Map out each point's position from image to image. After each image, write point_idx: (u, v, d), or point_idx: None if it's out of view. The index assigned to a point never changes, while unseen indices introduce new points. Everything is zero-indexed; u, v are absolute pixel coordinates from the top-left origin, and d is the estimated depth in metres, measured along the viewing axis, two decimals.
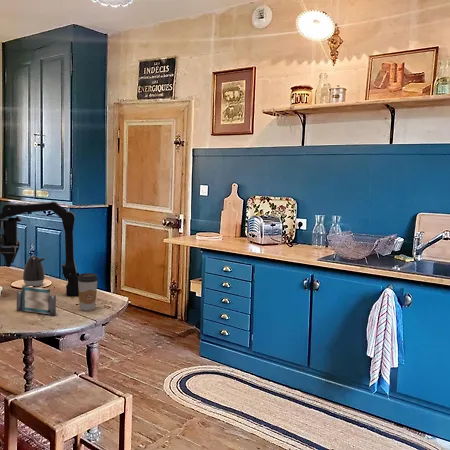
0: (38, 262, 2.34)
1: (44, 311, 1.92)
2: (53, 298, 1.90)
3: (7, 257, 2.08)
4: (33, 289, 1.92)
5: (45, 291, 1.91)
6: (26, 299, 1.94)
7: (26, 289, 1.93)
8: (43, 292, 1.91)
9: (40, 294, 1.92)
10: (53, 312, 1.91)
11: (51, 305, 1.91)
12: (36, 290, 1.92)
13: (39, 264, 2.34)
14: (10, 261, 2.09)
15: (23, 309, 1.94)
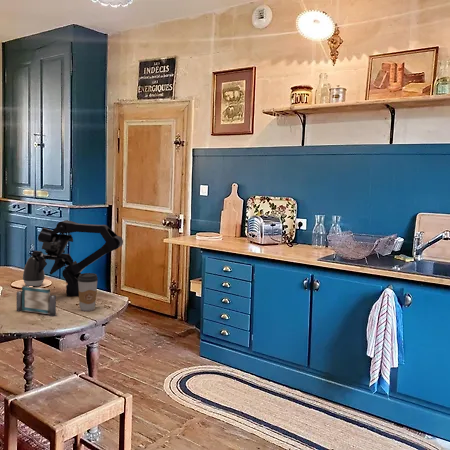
0: (38, 262, 2.34)
1: (44, 311, 1.92)
2: (53, 298, 1.90)
3: (56, 265, 2.12)
4: (33, 289, 1.92)
5: (45, 291, 1.91)
6: (26, 299, 1.94)
7: (26, 289, 1.93)
8: (43, 292, 1.91)
9: (40, 294, 1.92)
10: (53, 312, 1.91)
11: (51, 305, 1.91)
12: (36, 290, 1.92)
13: None
14: (55, 270, 2.12)
15: (23, 309, 1.94)
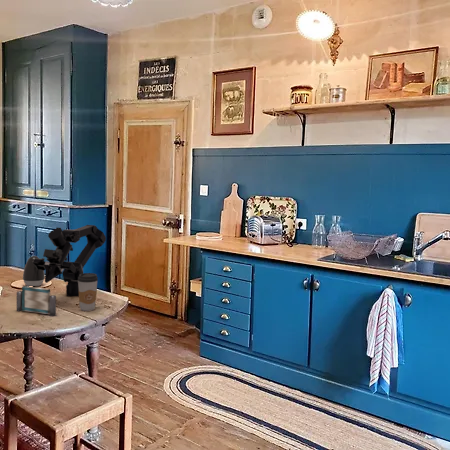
0: None
1: (44, 311, 1.92)
2: (53, 298, 1.90)
3: (53, 273, 2.03)
4: (33, 289, 1.92)
5: (45, 291, 1.91)
6: (26, 299, 1.94)
7: (26, 289, 1.93)
8: (43, 292, 1.91)
9: (40, 294, 1.92)
10: (53, 312, 1.91)
11: (51, 305, 1.91)
12: (36, 290, 1.92)
13: None
14: (51, 278, 2.03)
15: (23, 309, 1.94)
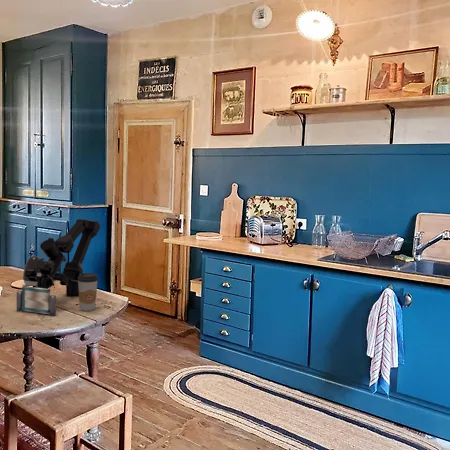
0: None
1: (44, 311, 1.92)
2: (53, 298, 1.90)
3: (45, 285, 1.98)
4: (33, 289, 1.92)
5: (45, 291, 1.91)
6: (26, 299, 1.94)
7: (26, 289, 1.93)
8: (43, 292, 1.91)
9: (40, 294, 1.92)
10: (53, 312, 1.91)
11: (51, 305, 1.91)
12: (36, 290, 1.92)
13: None
14: None
15: (23, 309, 1.94)
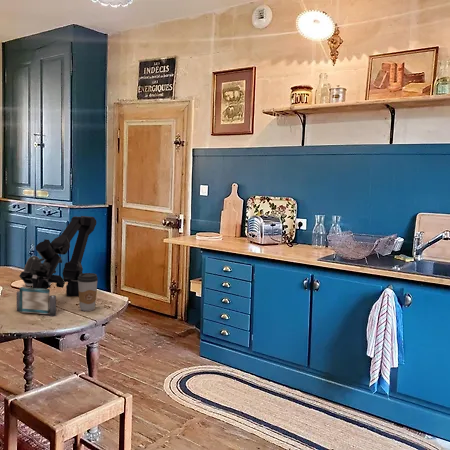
0: (38, 262, 2.34)
1: (44, 311, 1.91)
2: (53, 298, 1.90)
3: (40, 287, 1.96)
4: (32, 290, 1.91)
5: (45, 291, 1.90)
6: (24, 300, 1.92)
7: (24, 290, 1.91)
8: (42, 292, 1.91)
9: (39, 295, 1.91)
10: (53, 312, 1.91)
11: (51, 305, 1.91)
12: (35, 291, 1.91)
13: None
14: None
15: (21, 310, 1.92)
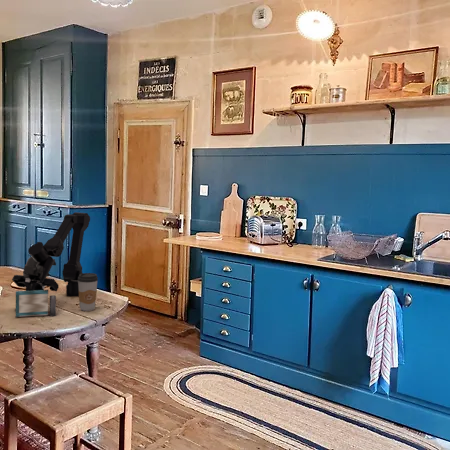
0: None
1: (44, 312, 1.90)
2: (53, 298, 1.90)
3: None
4: (30, 292, 1.87)
5: (45, 292, 1.89)
6: (21, 304, 1.86)
7: (21, 294, 1.86)
8: (42, 293, 1.89)
9: (38, 296, 1.89)
10: (53, 312, 1.91)
11: (51, 305, 1.91)
12: (34, 293, 1.88)
13: None
14: None
15: (17, 315, 1.86)
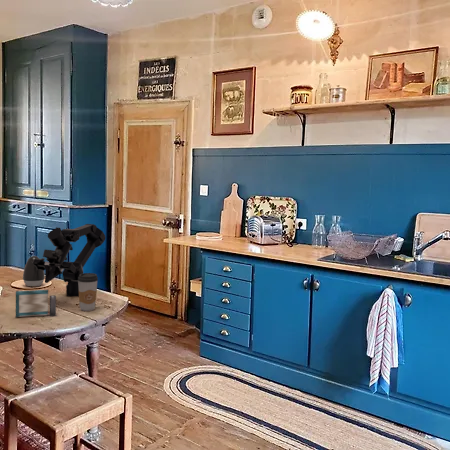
0: None
1: (44, 312, 1.90)
2: (53, 298, 1.90)
3: (53, 273, 2.03)
4: (30, 292, 1.87)
5: (45, 292, 1.89)
6: (21, 304, 1.86)
7: (21, 294, 1.86)
8: (42, 293, 1.89)
9: (38, 296, 1.89)
10: (53, 312, 1.91)
11: (51, 305, 1.91)
12: (34, 293, 1.88)
13: None
14: (51, 278, 2.03)
15: (17, 315, 1.86)
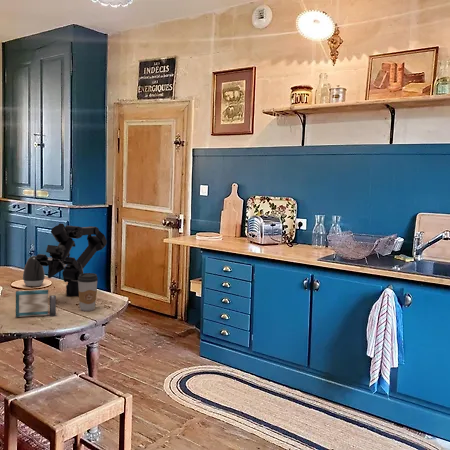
0: None
1: (44, 312, 1.90)
2: (53, 298, 1.90)
3: (56, 268, 2.05)
4: (30, 292, 1.87)
5: (45, 292, 1.89)
6: (21, 304, 1.86)
7: (21, 294, 1.86)
8: (42, 293, 1.89)
9: (38, 296, 1.89)
10: (53, 312, 1.91)
11: (51, 305, 1.91)
12: (34, 293, 1.88)
13: (39, 264, 2.34)
14: (54, 273, 2.05)
15: (17, 315, 1.86)
